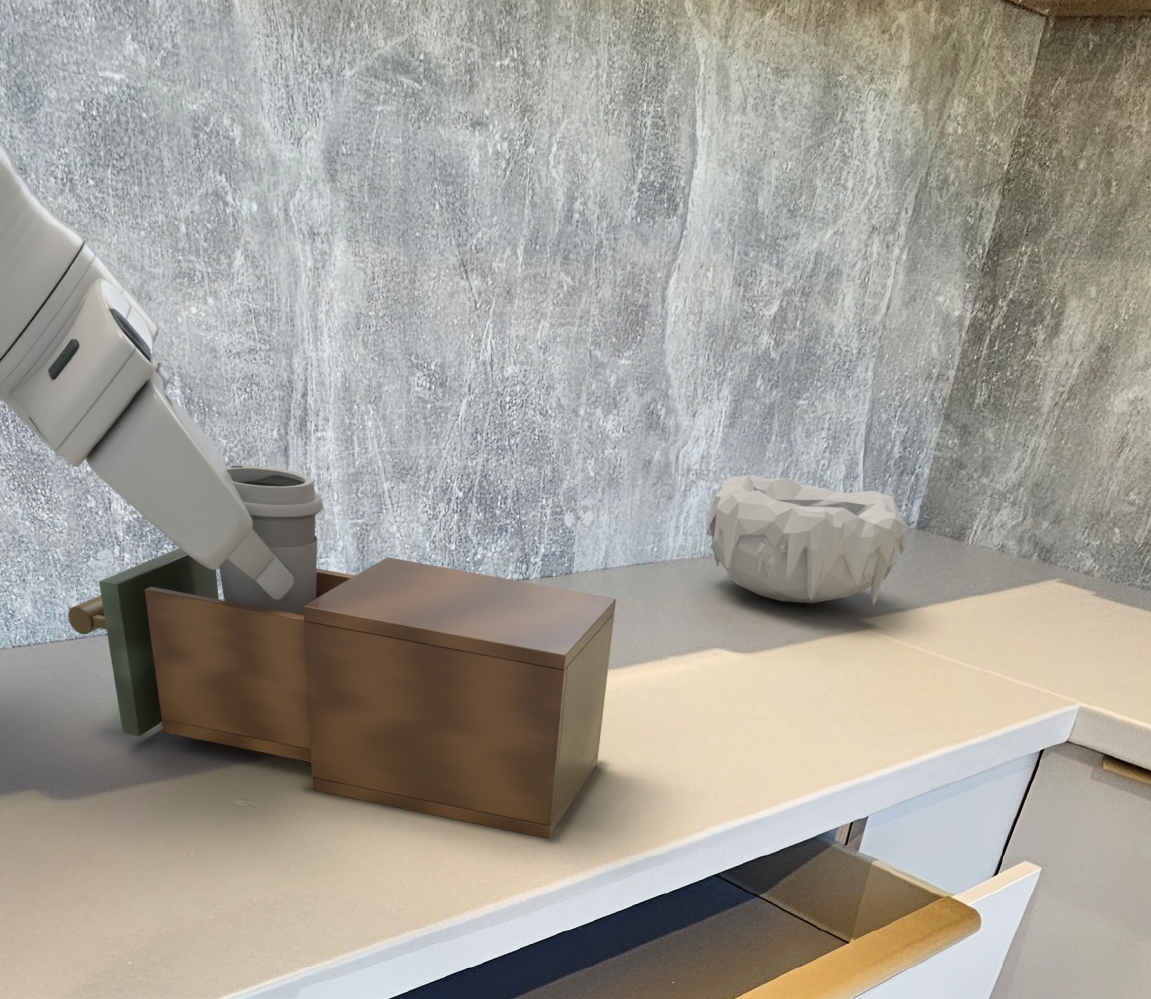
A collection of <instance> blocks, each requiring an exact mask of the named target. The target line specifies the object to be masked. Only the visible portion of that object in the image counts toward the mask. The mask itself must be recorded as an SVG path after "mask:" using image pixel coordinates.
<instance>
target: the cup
mask: <svg viewBox="0 0 1151 999" xmlns="http://www.w3.org/2000/svg"><path fill="white" fill-rule="evenodd" d="M225 468H226V470H227V471H228V473H229V474H230V476H231V478H232V480H233V481H232V482H233V484H234V486H235V487H236V489H237V490H238V492H239V494H240V496H241V498H242V500H243V502H244V505H245V507H246V509H247V511H248V513H249V515H250V516H251V518H252V521H253V527H252V528H253V530H254V531H255V533H256V534H257V535H258V536H259V537H260V538H261V540H262V541H263V542H264V543H265V544H266V546H267V547H268V548H269V549H270V550H271V551H272V552H273V553H274V554H275V555H276V556H277V557H278V558H279V559H280V560H281V561H282V563H283V564H284V565H285V566H286V567H287V568H288V569H289V570H290V572H291V574H292V576H293V578H294V585H293V587H292V588H291V589H290V590H289V591H288V593H287V594H286V595H285V596H284V597H283V598H282V599H281V600H274V599H272V598H271V597H270V596H269V595H268V594H267V593H266V592H265V591H264V590H263V589H262V587H261V586H260V585H259V584H258V583H257V582H256V581H255V580H253V579H252V578H251V577H249V576H248V575H247V574H245V573H244V572H243V571H242V570H240V569H239V568H238V567H236V566H235V565H234V564H232V563H231V562H230V561H229V560H228V558H227V559H226V561H225V562H224V563H223V564H222V565H221V566H220V567H219V568H218V569H219V575H220V580H221V588H222V594H223V595H222V596H223V600H224V601H229V602H234V603H240V604H245V605H250V606H256V607H261V608H266V609H272V610H277V611H282V612H288V613H293V614H298V615H303V616H304V610H303V607H304V605H306V604H308V603H310V602H311V601H313V600H315V599H316V574H317V569H318V568H317V567H318V537H317V535H316V515H318V514H319V513H320V512H322V511H323V510H324V503H323V500H322V497H321V496H320V495H319V493H317V492H316V490H315V484H314V482H315V481H314V479H313V478H312V477H311V476H310V475H307V474H305V473H302V472H299V471H294V470H290V469H286V468H279V467H274V466H273V467H272V466H263V465H262V466H261V465H243V464H242V465H226V466H225Z"/></svg>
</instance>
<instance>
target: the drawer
mask: <svg viewBox="0 0 1151 999" xmlns="http://www.w3.org/2000/svg"><path fill="white" fill-rule="evenodd" d="M354 576H356V575H355V574H350V573H344V572H339V571H333V570H328V569H322V568H317V574H316V598H318V597H320V596H322V595H323V594H325V593H327V592H328V591H330V590H332V589H334V588H335V587H337V586H339V585H340V584H342V583H344V582H346V581H347V580H349V579H351V578H352V577H354ZM98 583H99V590H100V594H99V595H97V596H95V597H93V598H91V599H88V600H86V601H84V602H80V603H79V604H76V605H74V606H72V607H70V609H69V611H68V614H67V616H68V617H67V618H68V622H69V624H70V626H71V627H72V629H73V630H74V631H76V632H77V633H79V634H80V635H88V634H91V633H93V632H94V631H96V630H99V629H100V630H106V635H107V640H108V641H107V642H108V647H109V653H110V654H109V655H110V659H111V666H112V673H113V678H114V686H115V691H116V692H115V693H116V699H117V705H118V712H119V716H120V722H121V731H122V733H123V734H127V735H131V736H137V737H141V736H142V735H143V734H146V733H147V732H148V731H150V730H152V729H154V728H155V727H156V726H159V725H160V724H161V725H162V732H163V733H167V734H171V735H175V736H181V737H184V738H185V737H187V738H190V739H196V740H200V741H201V740H202V741H206V742H211V743H215V744H221V745H226V746H231V747H235V748H241V749H245V750H251V751H255V752H260V753H264V754H269V755H275V756H280V757H284V758H290V759H295V760H300V761H304V762H310V763H311V747H310V727H309V707H308V687H307V668H306V648H305V628H304V622H305V621H304V616H303V615H298V614H293V613H288V612H282V611H277V610H272V609H266V608H261V607H256V606H250V605H245V604H240V603H234V602H229V601H224V599H220V597H219V587H218V586H219V585H218V576H217V569H216V570H211V569H209V568H207V567H205V566H203V565H202V564H200V563H199V562H197V561H196V560H194V559H193V558H192V557H190V556H189V555H188V554H186V553H185V552H184V551H183V550H181V549H180V548H179V547H178V548H176V549H174V550H171V551H169V552H166V553H164V554H162V555H159V556H157V557H154V558H152V559H149V560H147V561H145V562H142V563H140V564H138V565H135V566H132V567H130V568H127V569H125V570H122V571H121V572H118V573H115V574H113V575H111V576H108V577H106V578H104V579H101V580H99V581H98Z"/></svg>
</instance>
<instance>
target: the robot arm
mask: <svg viewBox="0 0 1151 999" xmlns="http://www.w3.org/2000/svg"><path fill="white" fill-rule="evenodd" d="M159 331H160V326H159V323H158V322H157V321H156V320H155V319H154V317H153V316H152V315H151V314H150V313H149V311H148V310H147V309H146V308H145V307H144V305H142V303H141V302H140V300H138V299H137V298H136V297H135V295H134V294H133V292H131V291H130V289H129V288H128V287H127V286H126V285H125V284H124V283H123V282H122V280H121V279H120V278H119V277H118V276H117V274H115V272H114V271H113V270H112V269H111V268H110V266H109V265H108V264H107V263H106V262H105V260H103V258H102V257H101V256H100V255H99V254H98V252H96V250H95V249H94V248H93V247H92V245H91V244H90V243H89V242H88V241H87V240H85V238H84V237H83V235H82V234H81V233H80V232H79V231H78V230H76V229H75V228H74V227H73V226H72V225H70V224H69V223H68V222H67V221H65V220H63V219H62V218H60V217H59V216H58V215H57V214H56V213H54V212H53V211H52V210H51V209H50V208H49V207H47V205H45V204H44V202H43V201H42V200H41V199H40V198H39V197H38V196H37V195H36V193H35V191H34V190H33V189H32V188H31V186H30V185H29V184H28V183H27V181H26V179H25V178H24V176H23V174H22V173H21V172H20V169H19V168H18V166H17V164H16V162H15V160H14V159H13V157H12V156H11V153H10V152H9V150H7V148H6V146H4V145H3V143H2V142H1V141H0V400H1V401H2V402H3V403H4V404H5V405H6V406H7V407H8V408H9V409H10V410H11V411H12V412H13V413H14V414H15V415H16V416H17V417H18V418H19V419H20V420H21V421H22V422H23V423H24V424H25V425H26V426H27V427H28V428H29V429H31V431H32V432H33V433H35V435H37V437H38V438H39V439H41V441H42V442H44V444H46V445H47V446H48V448H49V449H50V450H51V451H52V452H54V454H55V455H56V456H58V457H62V458H63V459H64V460H65V461H66V462H67V463H68V464H69V465H70V466H73V467H75V468H78V467H80V466H81V465H82V464H83V462H84V461H86V463H87V465H88V466H89V467H90V469H91V470H92V471H93V472H94V473H95V474H96V475H97V476H98V477H99V478H100V479H101V480H102V481H104V483H105V484H107V485H108V486H109V487H110V488H111V489H112V490H113V491H114V492H115V493H117V494H118V496H119V497H120V498H122V499H123V500H124V501H125V502H127V503H128V504H129V505H130V506H131V507H132V508H133V509H134V510H135V511H137V513H138V514H140V515H141V516H142V517H143V518H145V519H146V521H148V522H149V523H150V524H151V525H152V526H154V527H155V528H156V529H157V530H158V531H159V532H161V534H163V535H164V536H165V537H166V538H168V540H170V541H171V542H172V543H173V544H174V545H175V546H177V547H178V548H180V549H181V550H183V551H184V552H185V553H186V554H188V555H189V556H190V557H192V558H193V559H194V560H196V561H197V562H199V563H200V564H202V565H203V566H205V567H207V568H209V569H211V570H216V571H217V569H219V567H220V566H221V565H222V564H223V563H224V562H225V561H226V559H227V558H228V560H229V561H230V562H231V563H232V564H234V565H235V566H236V567H238V568H239V569H240V570H242V571H243V572H244V573H245V574H247V575H248V576H249V577H251V578H252V579H253V580H255V581H256V582H257V583H258V584H259V585H260V586H261V587H262V589H263V590H264V591H265V592H266V593H267V594H268V595H269V596H270V597H271V598H272V599H274V600H281V599H282V598H283V597H284V596H285V595H286V594H287V593H288V591H289V590H290V589H291V588H292V587H293V585H294V578H293V576H292V574H291V572H290V570H289V569H288V568H287V567H286V566H285V565H284V564H283V563H282V561H281V560H280V559H279V558H278V557H277V556H276V555H275V554H274V553H273V552H272V551H271V550H270V549H269V548H268V547H267V546H266V544H265V543H264V542H263V541H262V540H261V538H260V537H259V536H258V535H257V534H256V533H255V531H254V530H253V528H252V527H253V521H252V518H251V516H250V515H249V513H248V511H247V509H246V507H245V505H244V502H243V500H242V498H241V496H240V494H239V492H238V490H237V489H236V487H235V486H234V484H233V482H232V481H233V480H232V478H231V476H230V474H229V473H228V471H227V470H226V468H225V466H227V465H226V464H225V461H224V460H223V457H222V455H221V453H220V451H219V450H218V449H219V448H217V446H216V445H215V443H213V441H212V440H211V438H209V436H208V435H207V434H206V433H205V432H204V430H203V429H202V428H201V427H200V426H199V425H198V424H197V423H196V422H195V420H193V418H192V417H191V416H190V415H189V414H188V413H187V412H186V410H184V408H183V407H182V406H181V405H180V404H179V403H178V402H177V400H175V399H174V398H173V396H171V394H170V393H169V392H168V390H166V389H167V388H168V385H169V383H170V380H171V373H170V371H169V370H168V369H167V368H166V367H165V366H164V364H163V363H162V362H159V359H158V357H156V355H154V353H155V352H154V350H155V348H154V347H155V345H154V344H155V342H156V340H157V337H158V336H159V333H160V332H159Z"/></svg>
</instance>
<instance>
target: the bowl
mask: <svg viewBox="0 0 1151 999" xmlns="http://www.w3.org/2000/svg"><path fill="white" fill-rule="evenodd" d="M705 519H706V521H707V524H706V535H707V536H710V537H711V544H710V548H711V550H712V553H713V556H714V561H715V565H716V566H717V567H718V566H720V564H721V565H722V566H723V568H724V569H725V571H726V572H727V574H728V575H729V576H730V577H731V578H732V580H733V581H734V583H735V584H737V585H738V586H740V587H743V588H744V589H747V590H748V591H750V592H753V593H755V594H756V595H759V596H760V597H766V598H768V599H771V600H775V601H779V602H785V603H797V604H798V603H800V604H817V603H821V602H827V601H831V600H837V599H843V598H849V597H851V596H853V595H856V594H859V593H860V592H862V591H865V590H867V589H870V601H871V603H872V607H874V606H875V605H876V601H877V599H878V595H879V592H880V589H881V586H882V583H883V582H884V581H885V580H886V579H887V577H888V575H889V574H890V573H891V570H892V568H893V567H894V566H896V564H897V563H898V554H899V553H900V555H903V553H904V551H905V549H907V526H906V524H905V520H904V519H903V517H902V514H901V511H900V509H899V507H898V505H897V504H896V501H895V499H894V497H893V496H890V495H887V494H884V493H880V492H878V491H874V490H868V491H867V490H866V491H860V492H856V493H853V492H852V493H851V492H842V491H835V490H831V489H827V488H823V487H819V486H814V485H808V484H803V483H800V482H798V481H795V480H793V479H791V478H789V477H779V478H778V477H777V478H766V477H764V476H759V475H757V474H745V475H739V476H735V477H734V476H733V477H730V478H728V479H727V480H725V482H724V483H722V484H721V485H720V488H719V490H718V491H717V493H716V494H715V495H714V500H713V502H712V504H711V505H710V507H709V509H708V511H707V512H706V515H705Z"/></svg>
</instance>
